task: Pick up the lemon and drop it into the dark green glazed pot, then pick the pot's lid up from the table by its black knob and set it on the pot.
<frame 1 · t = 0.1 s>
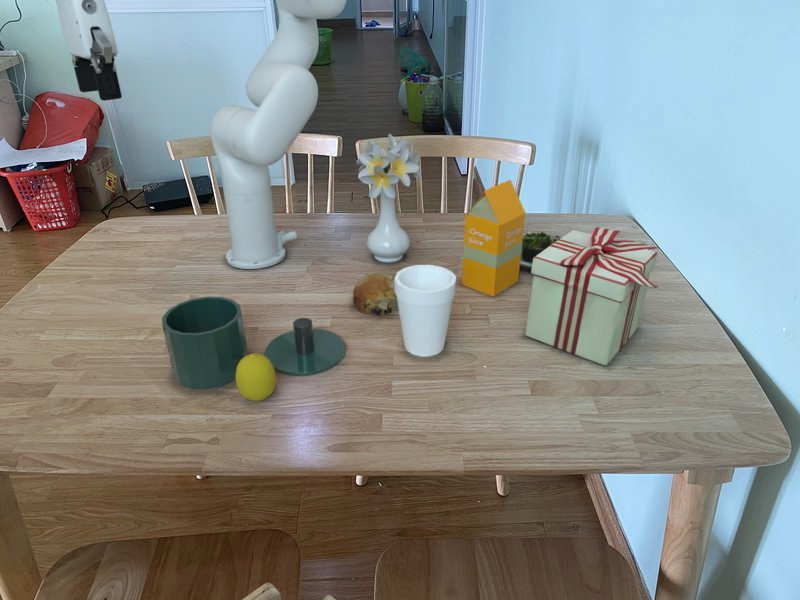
hand: (100, 95, 98), 37 cm above the table, tool pointing down, fingers open, 9 cm apart
lid: (305, 352, 97), point 1 cm above the table
lemon: (259, 401, 87), on the table
bread roll: (379, 306, 112), on the table
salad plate: (541, 258, 129), on the table
flower vase: (390, 259, 129), on the table
foam cup: (424, 349, 99), on the table
gift box: (590, 335, 103), on the table
pot: (212, 369, 94), on the table
orange juice: (490, 283, 119), on the table
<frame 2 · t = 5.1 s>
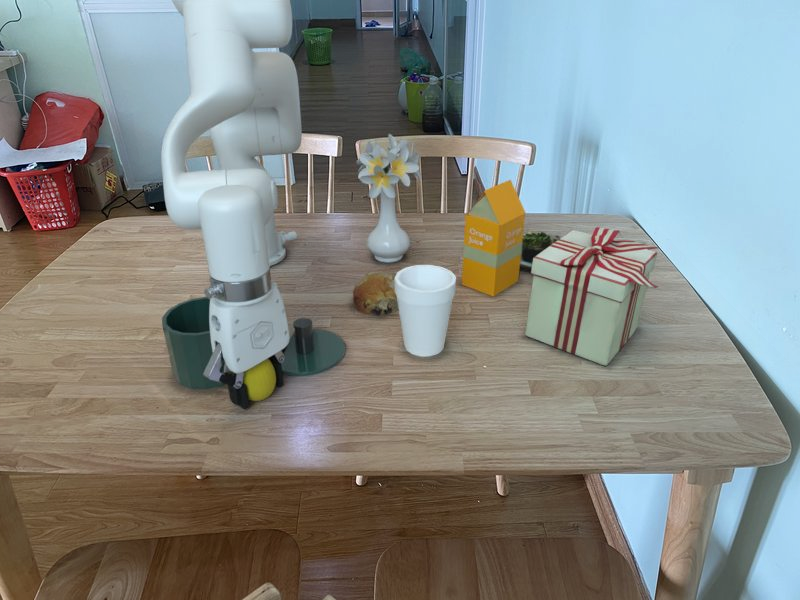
hand: (258, 392, 87), 1 cm above the table, tool pointing down, fingers closed on lemon, 5 cm apart
lemon: (259, 401, 87), on the table, touching gripper
everything else where it was.
when the fingers open (8 cm above the table, at t = 10.8 s): lemon stays where it is, resting on pot.
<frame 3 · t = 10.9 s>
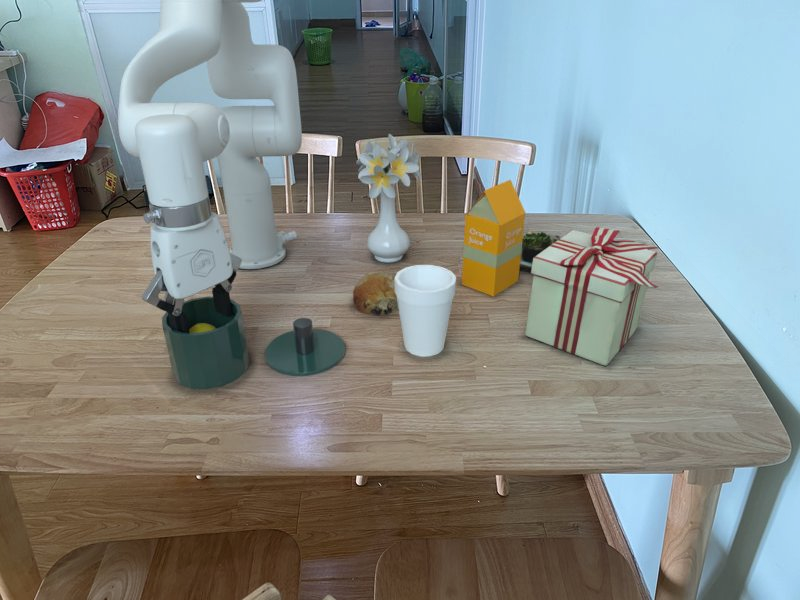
hand: (203, 323, 90), 9 cm above the table, tool pointing down, fingers open, 6 cm apart
lemon: (212, 366, 94), resting on pot
everything else where it was.
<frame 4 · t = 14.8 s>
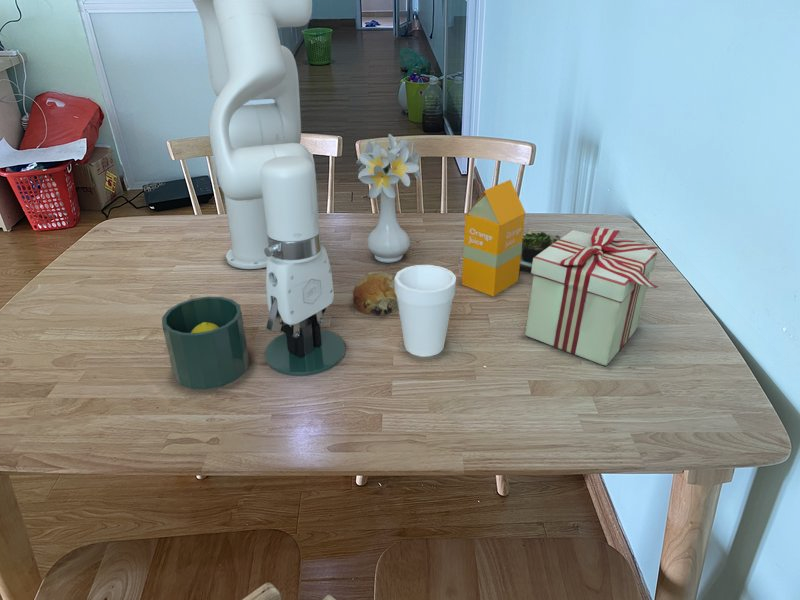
hand: (305, 348, 97), 1 cm above the table, tool pointing down, fingers closed on lid, 3 cm apart
lid: (305, 352, 97), point 1 cm above the table, touching gripper
everything else where it was.
when the fingers open (11 cm above the table, at t = 20.4 s): lid stays where it is, resting on pot.
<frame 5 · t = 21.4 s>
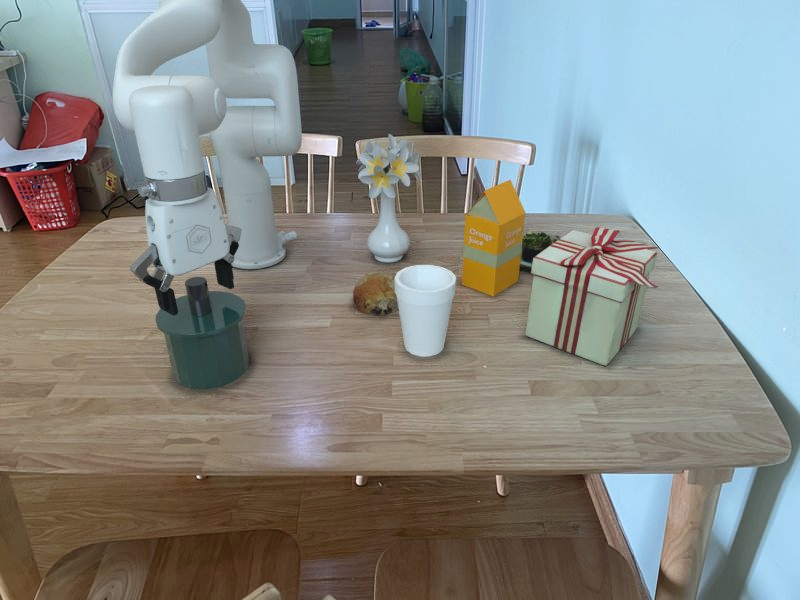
hand: (199, 298, 88), 13 cm above the table, tool pointing down, fingers open, 9 cm apart
lid: (202, 314, 89), point 10 cm above the table, touching pot
everything else where it was.
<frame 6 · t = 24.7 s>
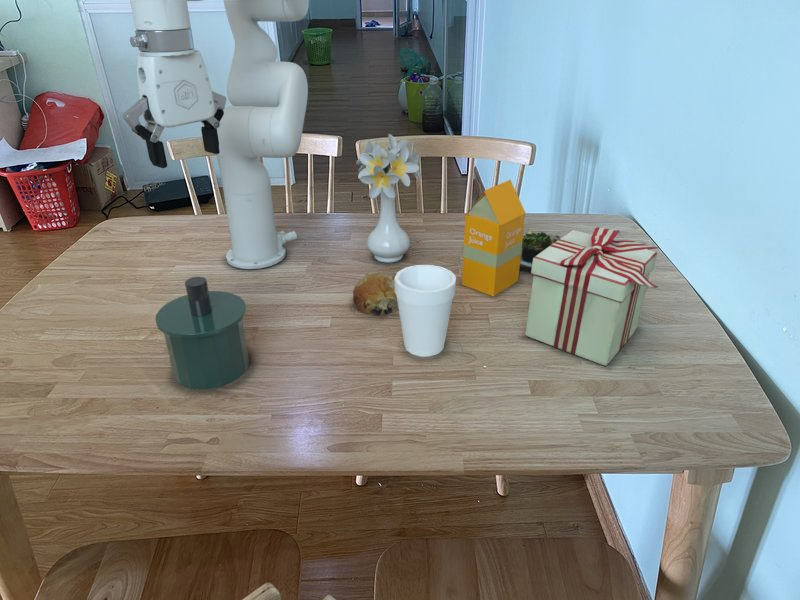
hand: (187, 159, 95), 28 cm above the table, tool pointing down, fingers open, 9 cm apart
nothing on the table moved.
at the end: lemon inside the target area in the pot (0.1 cm from its centre), point 0.3 cm above the pot's base; lid 0.1 cm off-centre on the pot, point 10.0 cm above the pot's base; lid tilted 0° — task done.
